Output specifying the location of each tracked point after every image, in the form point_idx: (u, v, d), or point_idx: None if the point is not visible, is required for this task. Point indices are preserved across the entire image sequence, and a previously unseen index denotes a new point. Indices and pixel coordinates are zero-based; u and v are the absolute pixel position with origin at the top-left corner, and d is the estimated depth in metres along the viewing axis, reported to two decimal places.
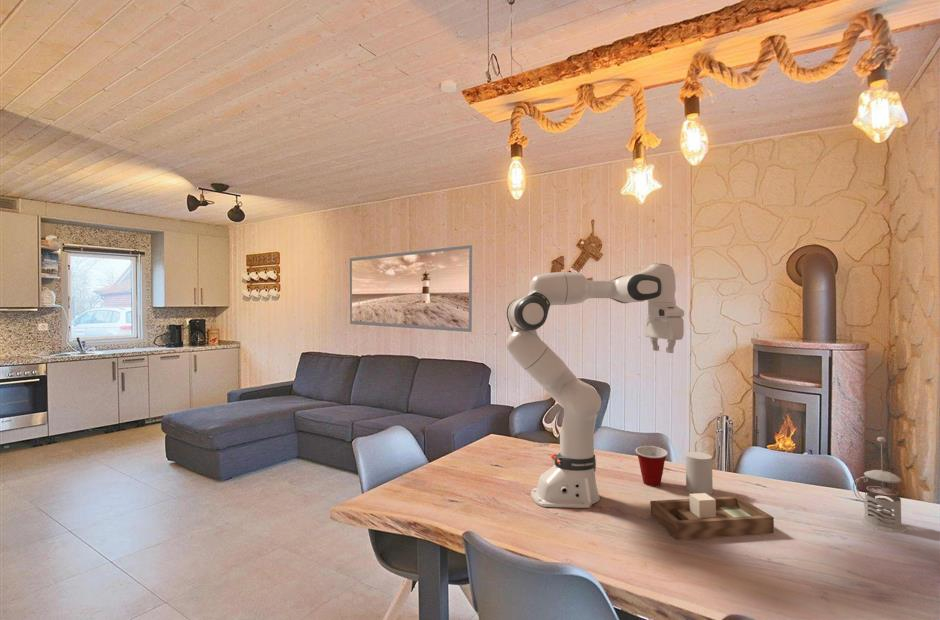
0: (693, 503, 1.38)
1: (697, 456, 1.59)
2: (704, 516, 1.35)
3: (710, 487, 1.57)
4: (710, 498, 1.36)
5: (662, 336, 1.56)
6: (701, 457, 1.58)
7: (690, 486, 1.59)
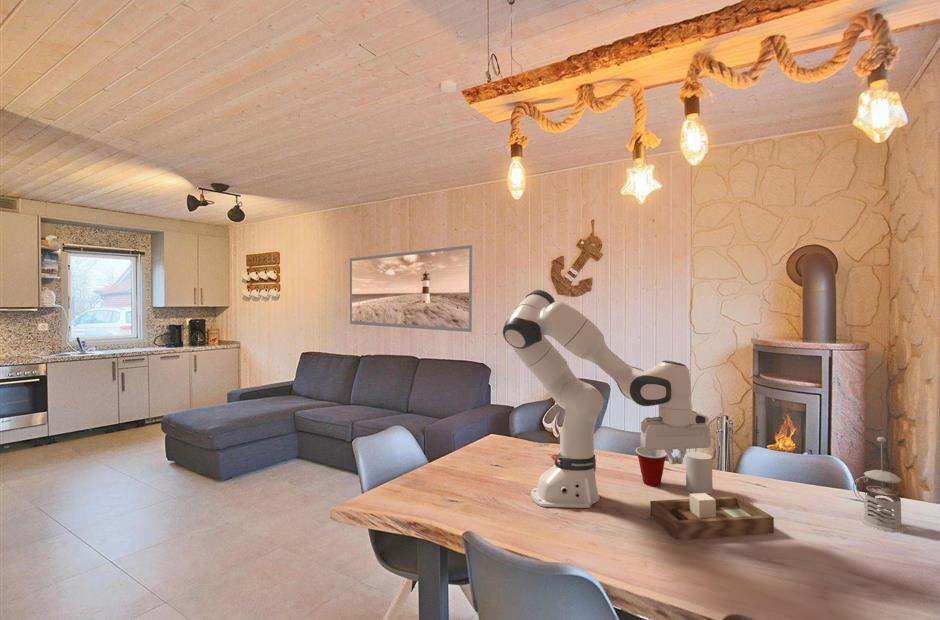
0: (693, 503, 1.38)
1: (697, 456, 1.59)
2: (704, 516, 1.35)
3: (710, 487, 1.57)
4: (710, 498, 1.36)
5: (689, 446, 1.35)
6: (701, 457, 1.58)
7: (690, 486, 1.59)
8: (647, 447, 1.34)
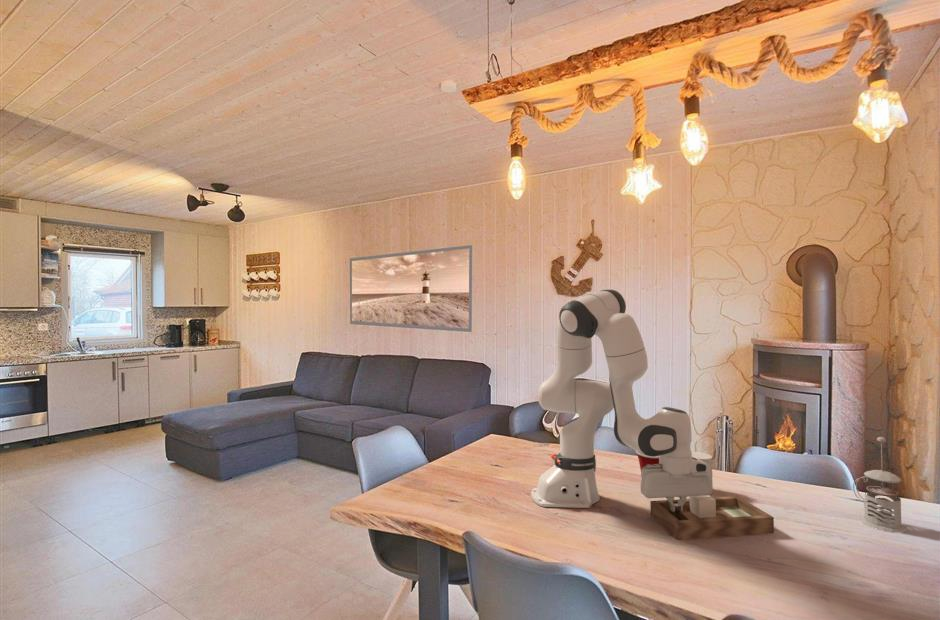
0: (693, 503, 1.38)
1: (697, 456, 1.59)
2: (704, 516, 1.35)
3: None
4: (710, 498, 1.36)
5: (690, 494, 1.35)
6: (701, 457, 1.58)
7: None
8: (647, 495, 1.34)
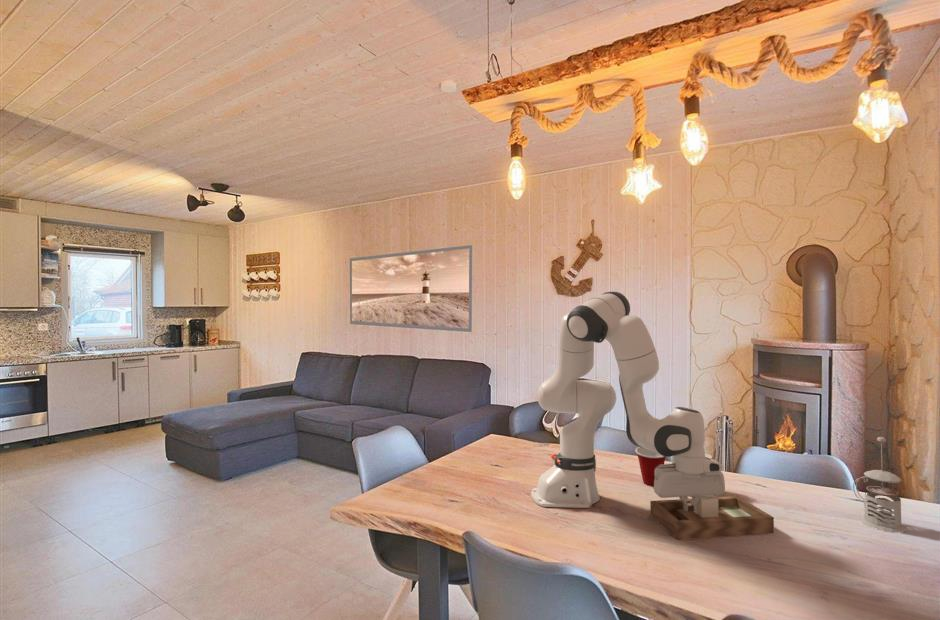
0: None
1: None
2: (707, 516, 1.35)
3: None
4: (713, 498, 1.36)
5: (703, 493, 1.35)
6: None
7: None
8: (661, 494, 1.34)
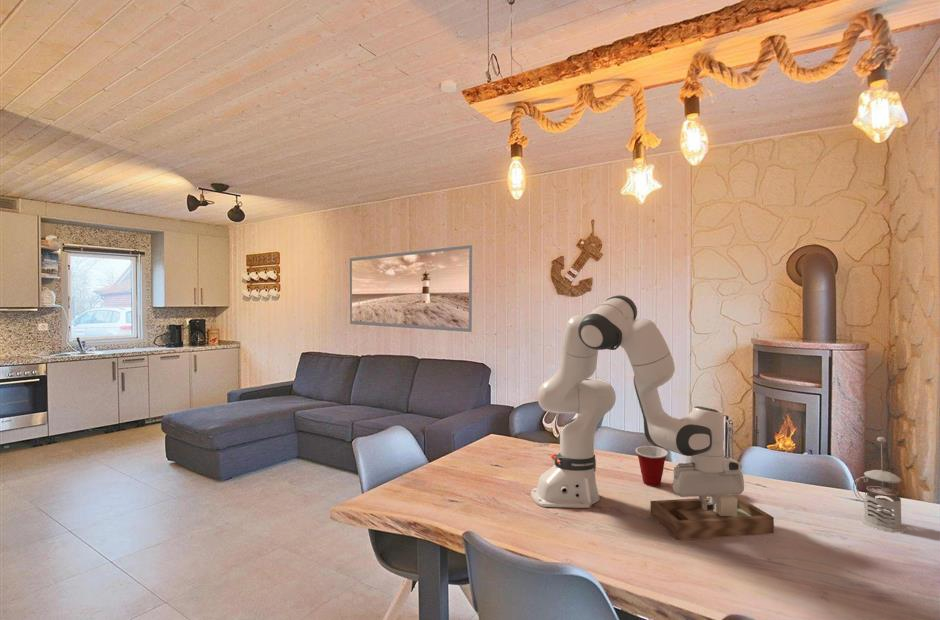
0: None
1: None
2: (725, 514, 1.35)
3: None
4: (732, 497, 1.36)
5: (722, 492, 1.36)
6: None
7: None
8: (680, 493, 1.35)
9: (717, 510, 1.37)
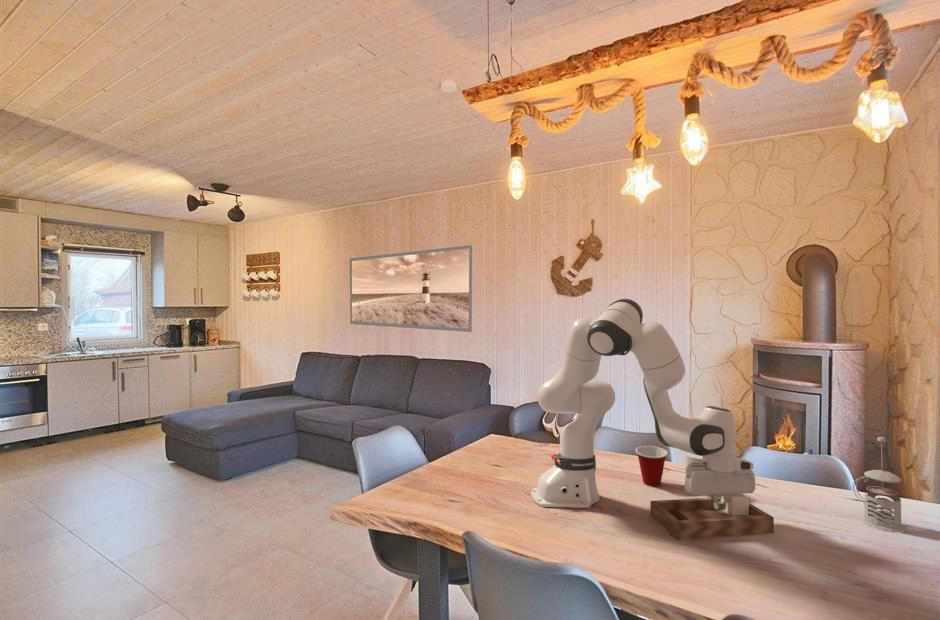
0: None
1: (697, 456, 1.59)
2: (737, 513, 1.36)
3: None
4: (743, 496, 1.37)
5: (734, 492, 1.36)
6: (701, 457, 1.58)
7: None
8: (692, 493, 1.35)
9: (729, 509, 1.37)
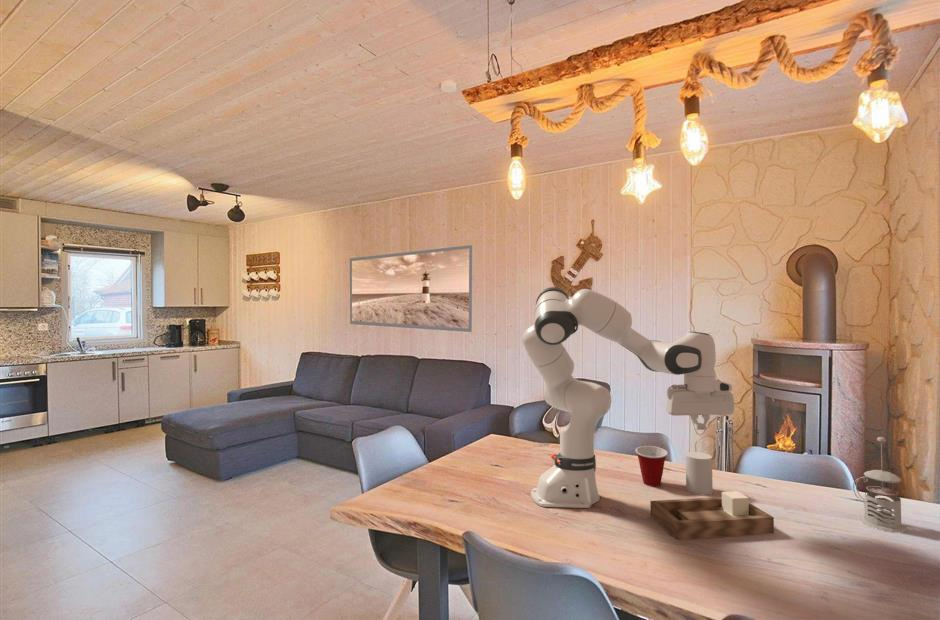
0: (725, 501, 1.39)
1: (697, 456, 1.59)
2: (737, 514, 1.36)
3: (710, 487, 1.57)
4: (743, 496, 1.37)
5: (713, 412, 1.42)
6: (701, 457, 1.58)
7: (690, 486, 1.59)
8: (673, 412, 1.41)
9: (729, 510, 1.37)
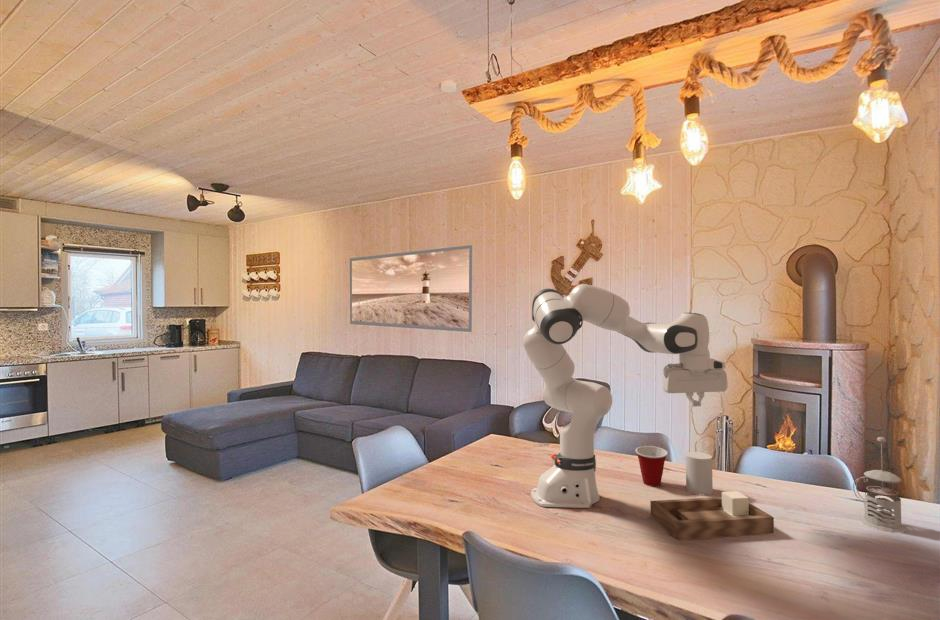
0: (725, 501, 1.39)
1: (697, 456, 1.59)
2: (737, 514, 1.36)
3: (710, 487, 1.57)
4: (743, 496, 1.37)
5: (708, 390, 1.48)
6: (701, 457, 1.58)
7: (690, 486, 1.59)
8: (669, 390, 1.47)
9: (729, 510, 1.37)
